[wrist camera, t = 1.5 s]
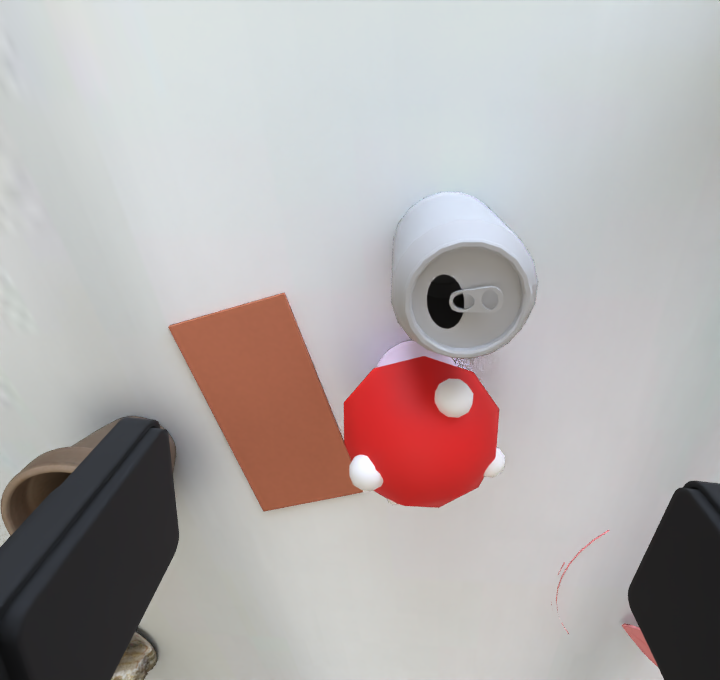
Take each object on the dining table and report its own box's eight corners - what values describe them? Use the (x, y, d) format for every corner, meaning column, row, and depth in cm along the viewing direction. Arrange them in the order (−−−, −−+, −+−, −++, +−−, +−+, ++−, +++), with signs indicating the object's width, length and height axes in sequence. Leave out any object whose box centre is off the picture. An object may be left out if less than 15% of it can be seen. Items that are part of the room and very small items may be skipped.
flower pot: (218, 415, 42) (168, 498, 33) (194, 506, 47) (144, 601, 37) (88, 372, 41) (-1, 445, 32) (77, 469, 46) (-3, 557, 37)
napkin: (284, 292, 36) (283, 293, 36) (363, 489, 44) (363, 492, 44) (169, 325, 38) (168, 327, 38) (264, 509, 46) (263, 511, 46)
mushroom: (492, 319, 36) (533, 406, 25) (477, 438, 41) (505, 554, 30) (352, 314, 37) (332, 397, 26) (352, 432, 41) (336, 543, 31)
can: (385, 199, 33) (378, 240, 22) (496, 180, 32) (546, 213, 21) (400, 300, 36) (401, 380, 25) (502, 286, 35) (549, 362, 24)
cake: (149, 675, 60) (125, 726, 55) (72, 646, 59) (42, 696, 54) (168, 639, 55) (144, 691, 51) (85, 607, 54) (53, 657, 49)
